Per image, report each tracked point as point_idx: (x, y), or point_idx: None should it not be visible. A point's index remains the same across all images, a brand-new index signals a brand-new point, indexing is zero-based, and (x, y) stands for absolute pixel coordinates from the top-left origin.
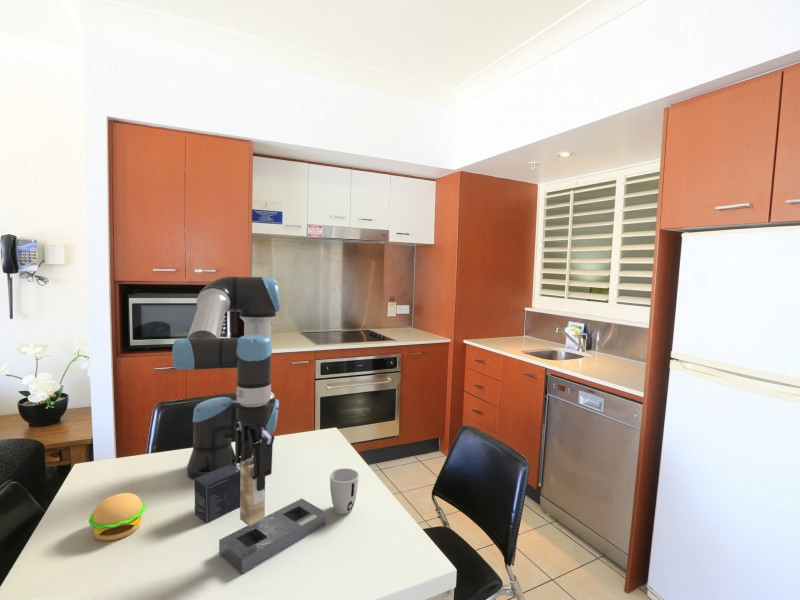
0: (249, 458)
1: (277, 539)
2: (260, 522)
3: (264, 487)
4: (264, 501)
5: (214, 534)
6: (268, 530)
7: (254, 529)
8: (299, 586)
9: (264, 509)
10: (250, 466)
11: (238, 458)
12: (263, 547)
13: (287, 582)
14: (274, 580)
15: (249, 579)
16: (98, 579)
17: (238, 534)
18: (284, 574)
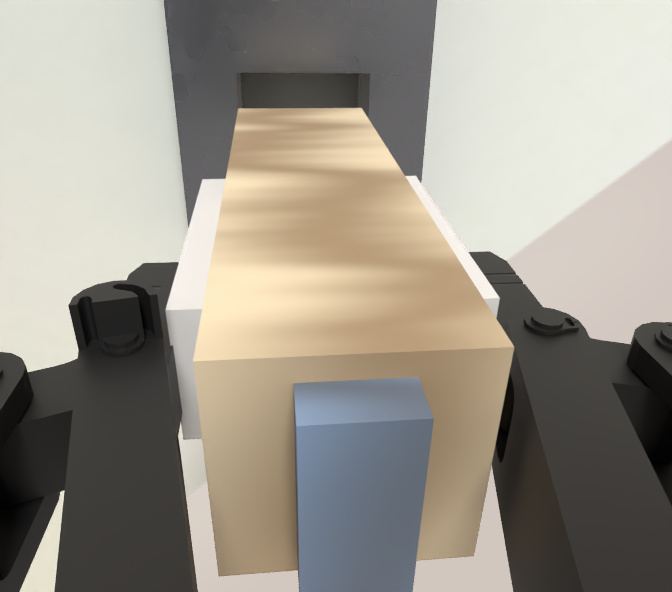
0: (299, 546)
1: (432, 46)
2: (201, 15)
3: (503, 264)
4: (383, 145)
5: (23, 180)
6: (316, 30)
7: (236, 81)
8: (661, 104)
9: (371, 125)
10: (444, 540)
11: (37, 536)
12: (423, 142)
13: (599, 125)
14: (541, 156)
15: (448, 222)
16: (49, 534)
17: (220, 177)
18: (554, 104)
